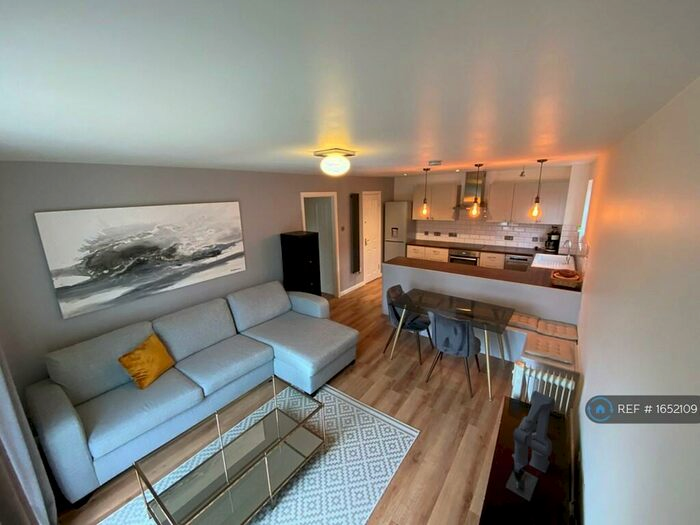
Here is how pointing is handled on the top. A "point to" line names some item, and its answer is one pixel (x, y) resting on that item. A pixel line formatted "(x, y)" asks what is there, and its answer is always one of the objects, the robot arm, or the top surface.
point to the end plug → (521, 482)
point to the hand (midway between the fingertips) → (520, 474)
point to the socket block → (529, 485)
